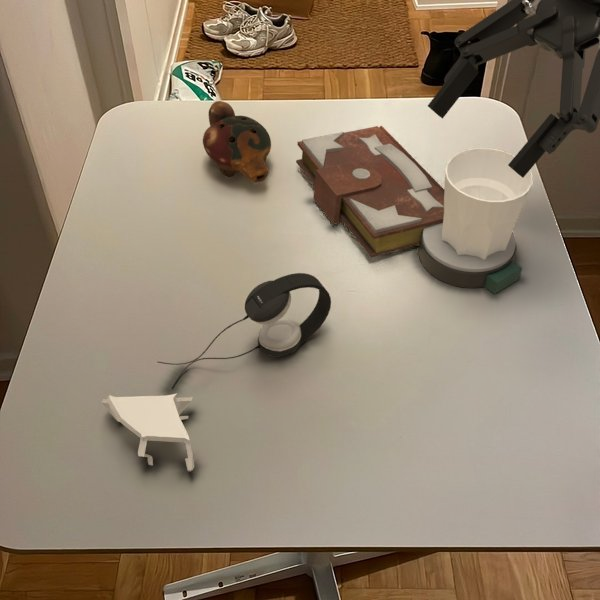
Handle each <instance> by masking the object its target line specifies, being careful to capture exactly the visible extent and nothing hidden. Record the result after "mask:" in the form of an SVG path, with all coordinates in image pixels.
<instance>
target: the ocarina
mask: <svg viewBox="0 0 600 600" xmlns="http://www.w3.org/2000/svg"><path fill="white" fill-rule="evenodd" d="M208 122H209V127H208V128H207V129H205V131H204V133H203V136H202V145H203V148H204V151H205V153H206V154H207V156H208V157H209V158H210V160H211V161H212V162H213V164H215V166H216V167H217V168H218V170H219V172H220V173H221V174H222V175H223V177H224V178H225V177H226V178H228V179H230V178H233V177H234V176H236V174H237V173H238V172H239V173H241V174H242V175H243V176H245V177H246V179H248V180H249V181H250V182H252V183H255V184H257V183H261V182H264V181H265V180H266V179H267V178H268V176H269V168H268V167H267V165H266V160H267V158H268V156H269V155H270V152H271V149H272V139H271V137H270V134H269V132H268V130H267V129H266V128H265V127H264V125H262V124H261V123H260V122H258V120H255V119H254V118H252V117H250V116H246V115H236V112H235V111H234V108H233V106H232V105H230V103H228V102H226V101H222V100H217V101H214V102H212V104H211V106H210V108H209V109H208Z"/></svg>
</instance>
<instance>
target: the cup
mask: <svg viewBox="0 0 600 600" xmlns="http://www.w3.org/2000/svg"><path fill="white" fill-rule="evenodd" d="M515 156H516V155H514V154H512V153H510V152H507V151H504V150H501V149H496V148H490V147H473V148H467V149H464V150H461V151H459V152H457V153H455V154H454V155H453V156H451V157H450V158H449V159H448V161H447V162H446V165H445V169H444V186H443V189H444V218H443V228H442V239H441V240H443V241H446V242H448V243H449V244H450V245H451V246H452V247H453V248H454V249H455V250H456V252H457V255H471V256H476V257H480V258H481V259H483V260H485V259H486V258H487V256H489V255H491V254H493V253H495V252H497V251H505V250H506V247H507V245H508V242H509V239H510V237H511V234H512V232H513V233H514V229H515V226H516V223H517V221H518V219H519V217H520V214H521V212H522V210H523V207H524V205H525V203H526V201H527V198H528V195H529V194H530V192H531V189H532V186H533V183H534V176H533V173H532V170H531V169H530V170H529V172H528V173H527V174H526V175H525V176H524V178H522V177H521V176H520V175H518V174H517V173H516V172H515V171H514V170H513V169H512V168H511V167H509V166H508V164H509V163H510V162H511V161H512V160H513V158H514V157H515Z"/></svg>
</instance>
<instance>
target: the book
mask: <svg viewBox="0 0 600 600" xmlns="http://www.w3.org/2000/svg"><path fill="white" fill-rule="evenodd" d="M297 146H298V148H299V149H300V150H301V152H302V154H301V158H300V159H299V158H298V159H296V160H295V163H296V164H297V165H298V167H299V168H300V170H302V172H303V173H304V174H305V176H306V177H307V178H308V179H309V181H310V183H312V185H313V201H315V203H316V204H317V206H318V207H319V208H320V210H321V211H322V212H323V214H325V216H326V217H327V219H328V220H329V221H330V222H331V223H332V225H338V224H341V223H343V224H344V225H345V227H346V228H347V230H349V232H350V233H351V234H352V236H353V238H355V240H356V241H357V242H358V244H360V246H361V248H363V250H364V251H365V252H366V254H367V255H368V257H369V258H375V257H377V256H381V255H387V254H389V253H393V252H394V253H395V252H397V251H401V250H405V249H409V248H412V247H416V246H420V238H421V233H422V232H423V229H424V228H426V227H429V226H432V225H435V224H438V223H442V222H443V218H444V187H443V186H441V184H440V183H439V182H438V181H437V180H435V178H434V177H433V176H432V175H431V174H430V173H429V172H428V171H427V170H426V169H425V168H424V167H423V166H422V165H421V164H420V162H418V161H417V160H416V159H415V158H414V157H413V156H412V155H411V154H410V153H409V152H408V150H406V149H405V147H404V146H403V145H401V144H400V143H399V142H398V141H397V139H396V138H395V137H394V136H393V135H392V134H390V132H389V131H387V129H386V128H385V127H383V125H380V126H378V125H376V126H371V127H366V128H360V129H355V130H351V131H345V132H344V131H341V132H336V133H329V134H326V135H321V136H315V137H310V138H306V139H302V140H299V141H297Z"/></svg>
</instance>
